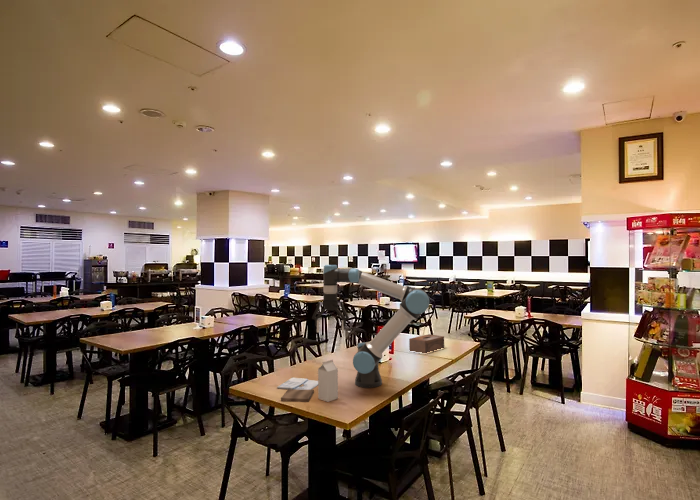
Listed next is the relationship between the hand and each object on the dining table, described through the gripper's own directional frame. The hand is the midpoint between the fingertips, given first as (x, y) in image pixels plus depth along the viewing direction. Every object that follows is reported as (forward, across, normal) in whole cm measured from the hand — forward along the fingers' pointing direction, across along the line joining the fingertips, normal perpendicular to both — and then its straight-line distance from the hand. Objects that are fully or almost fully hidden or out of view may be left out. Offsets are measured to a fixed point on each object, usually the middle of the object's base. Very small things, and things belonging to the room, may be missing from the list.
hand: (330, 332), depth 214 cm
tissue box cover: (+31, -61, -100) cm, 121 cm away
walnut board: (+31, +15, +12) cm, 37 cm away
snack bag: (+32, +18, -7) cm, 37 cm away
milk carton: (+31, -1, +14) cm, 34 cm away
